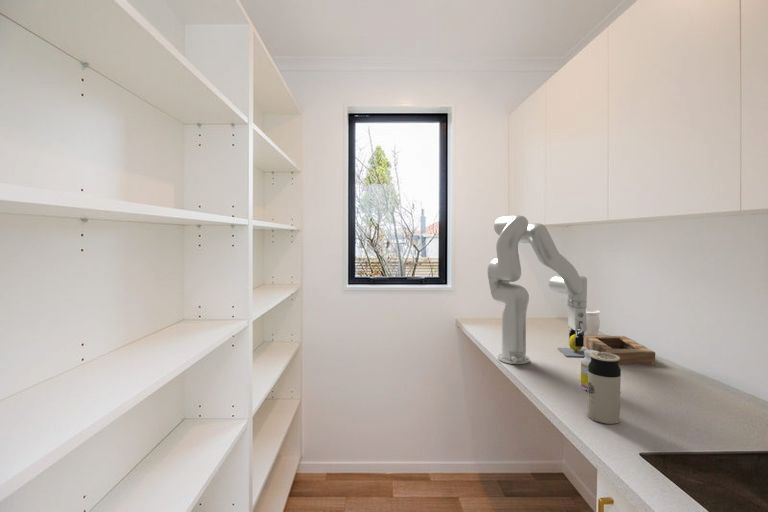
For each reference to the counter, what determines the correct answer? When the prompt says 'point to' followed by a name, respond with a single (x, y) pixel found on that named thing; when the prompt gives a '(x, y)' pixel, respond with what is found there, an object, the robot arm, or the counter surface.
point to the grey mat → (572, 352)
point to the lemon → (573, 343)
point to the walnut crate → (628, 355)
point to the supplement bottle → (585, 368)
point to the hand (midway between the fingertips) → (576, 343)
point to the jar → (592, 322)
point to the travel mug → (604, 388)
